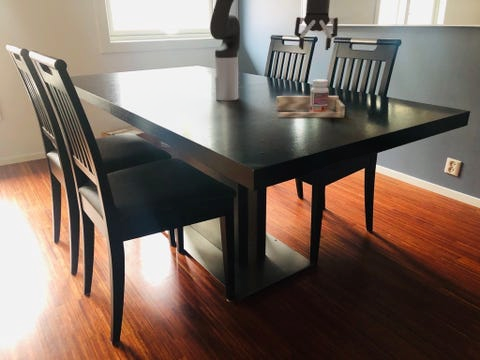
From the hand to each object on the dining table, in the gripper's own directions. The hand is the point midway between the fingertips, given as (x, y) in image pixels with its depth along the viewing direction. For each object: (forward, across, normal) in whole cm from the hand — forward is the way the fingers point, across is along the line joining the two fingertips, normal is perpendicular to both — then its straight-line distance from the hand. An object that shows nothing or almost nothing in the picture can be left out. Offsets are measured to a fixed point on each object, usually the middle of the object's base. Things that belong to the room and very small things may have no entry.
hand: (314, 49), depth 135 cm
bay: (+22, -1, -4) cm, 22 cm away
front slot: (+21, +4, -4) cm, 22 cm away
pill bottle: (+21, +3, -4) cm, 22 cm away
